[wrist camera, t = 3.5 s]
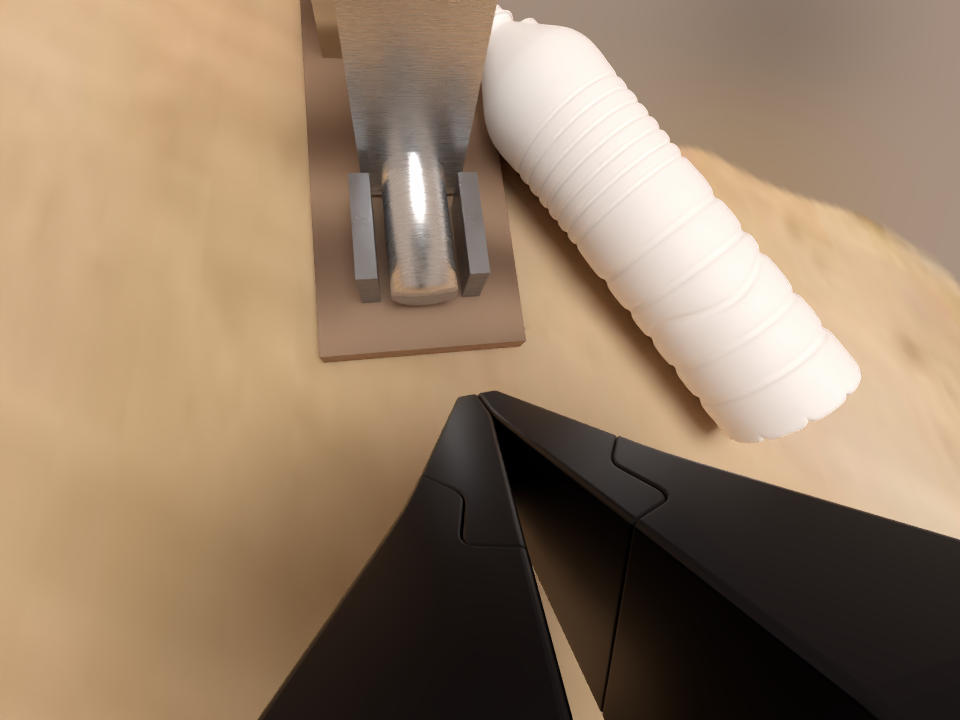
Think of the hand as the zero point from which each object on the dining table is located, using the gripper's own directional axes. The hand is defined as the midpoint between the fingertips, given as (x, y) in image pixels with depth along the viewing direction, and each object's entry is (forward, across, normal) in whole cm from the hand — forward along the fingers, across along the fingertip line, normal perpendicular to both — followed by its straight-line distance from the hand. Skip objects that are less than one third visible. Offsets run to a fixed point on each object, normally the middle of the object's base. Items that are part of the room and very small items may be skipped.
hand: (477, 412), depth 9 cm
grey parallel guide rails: (+15, 0, -1) cm, 15 cm away
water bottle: (+8, +18, -9) cm, 21 cm away
